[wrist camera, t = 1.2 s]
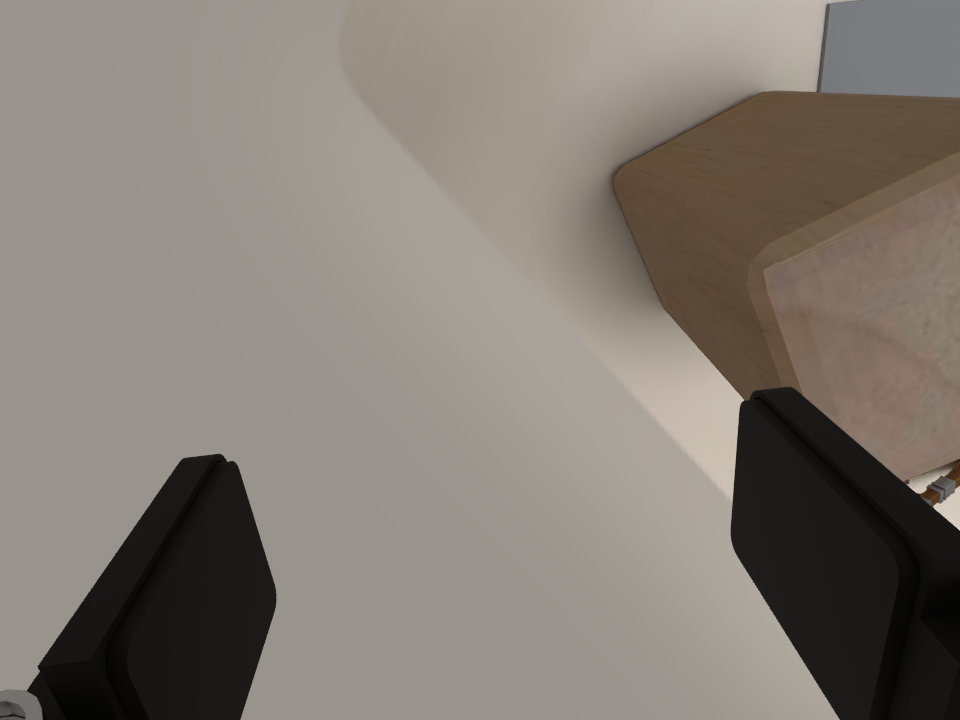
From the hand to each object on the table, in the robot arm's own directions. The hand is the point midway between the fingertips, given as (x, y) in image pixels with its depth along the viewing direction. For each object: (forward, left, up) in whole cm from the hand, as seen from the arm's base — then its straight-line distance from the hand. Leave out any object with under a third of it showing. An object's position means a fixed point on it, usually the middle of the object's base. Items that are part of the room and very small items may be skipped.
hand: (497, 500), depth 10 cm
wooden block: (+2, +15, -28) cm, 32 cm away
